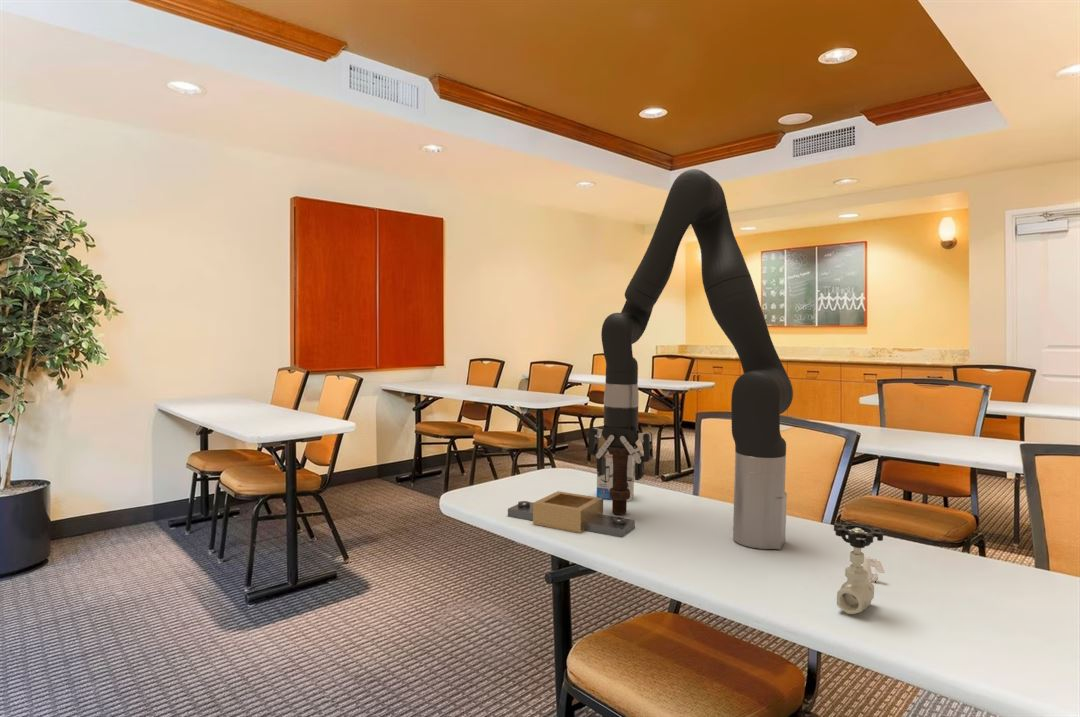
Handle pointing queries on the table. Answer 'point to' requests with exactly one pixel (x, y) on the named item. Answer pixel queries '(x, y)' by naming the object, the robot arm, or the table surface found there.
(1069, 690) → the table surface
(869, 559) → the clip
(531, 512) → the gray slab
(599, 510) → the square wooden frame
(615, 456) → the bolt
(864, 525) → the valve
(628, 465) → the ink box
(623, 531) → the gray knob plate
